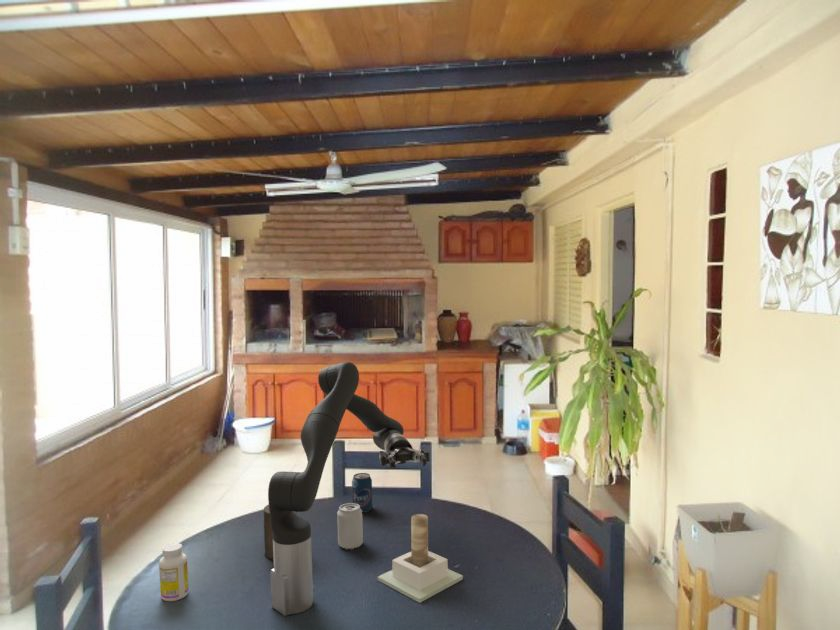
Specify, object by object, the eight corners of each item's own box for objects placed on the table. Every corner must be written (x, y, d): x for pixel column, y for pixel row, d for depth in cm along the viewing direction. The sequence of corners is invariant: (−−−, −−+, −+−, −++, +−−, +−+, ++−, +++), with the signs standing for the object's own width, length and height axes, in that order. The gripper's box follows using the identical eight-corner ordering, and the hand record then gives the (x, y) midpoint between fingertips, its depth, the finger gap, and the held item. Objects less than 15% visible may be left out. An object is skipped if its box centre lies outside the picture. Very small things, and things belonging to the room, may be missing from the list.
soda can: (354, 514, 205) (353, 479, 204) (351, 506, 212) (350, 473, 211) (374, 511, 207) (373, 477, 206) (370, 504, 213) (369, 471, 213)
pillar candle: (257, 557, 174) (256, 507, 173) (275, 543, 184) (274, 495, 183) (287, 562, 172) (286, 511, 170) (304, 547, 181) (303, 498, 180)
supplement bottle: (180, 586, 159) (178, 538, 158) (193, 594, 155) (191, 545, 154) (155, 596, 154) (153, 548, 153) (169, 605, 150) (166, 555, 149)
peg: (419, 581, 157) (419, 522, 156) (408, 575, 160) (407, 517, 159) (431, 575, 160) (431, 517, 159) (419, 570, 163) (419, 512, 162)
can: (365, 540, 185) (364, 501, 184) (360, 551, 177) (359, 511, 177) (341, 539, 186) (340, 501, 185) (335, 550, 178) (334, 510, 177)
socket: (419, 602, 149) (419, 581, 149) (377, 580, 160) (377, 560, 160) (462, 579, 160) (462, 559, 160) (420, 559, 171) (420, 540, 171)
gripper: (374, 437, 183) (384, 453, 167) (420, 434, 186) (433, 448, 170) (375, 462, 183) (384, 479, 168) (420, 458, 187) (434, 474, 171)
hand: (409, 464), depth 169 cm, fingers open, 8 cm apart
